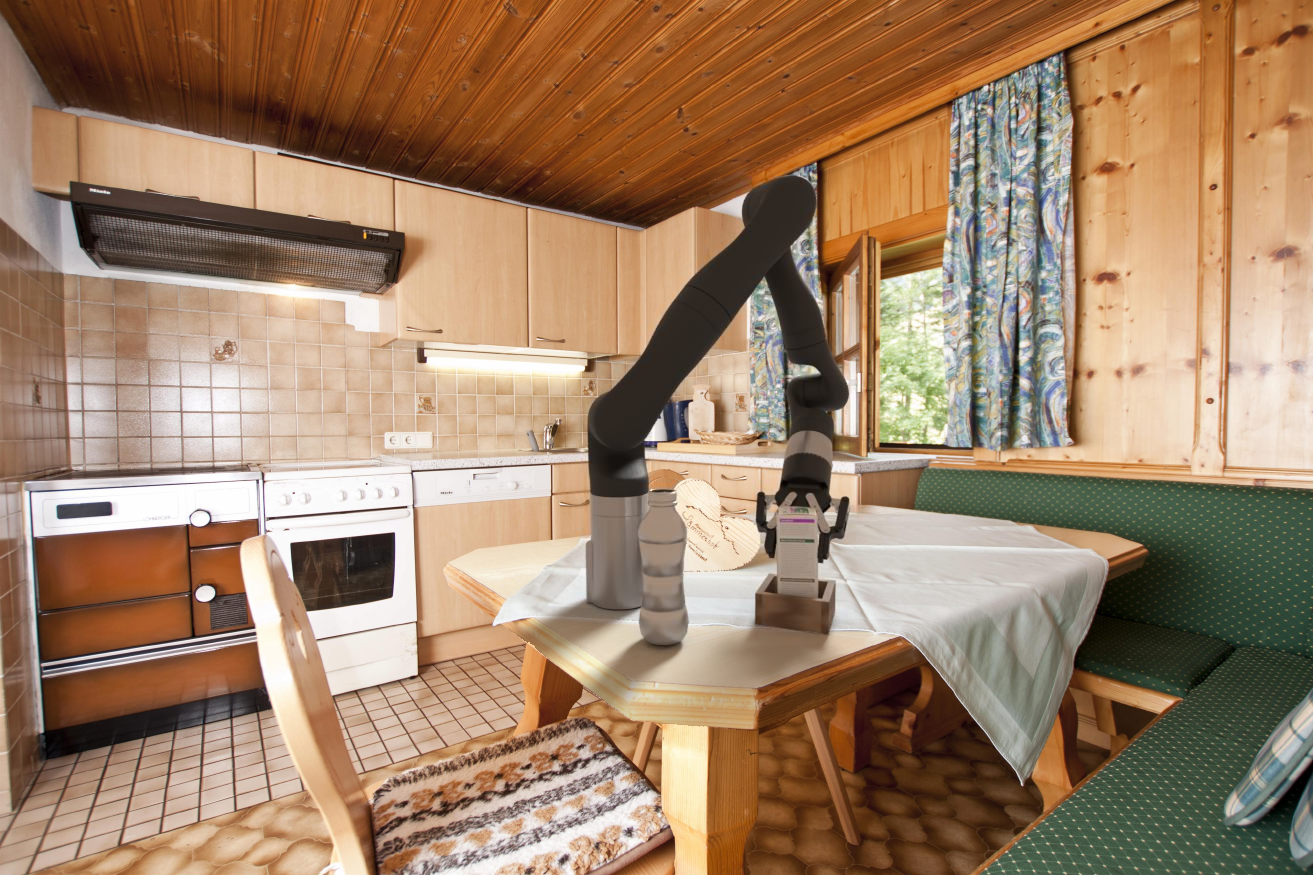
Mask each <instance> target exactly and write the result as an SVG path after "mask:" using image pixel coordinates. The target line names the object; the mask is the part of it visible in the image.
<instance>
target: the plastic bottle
mask: <svg viewBox="0 0 1313 875" xmlns="http://www.w3.org/2000/svg"><path fill="white" fill-rule="evenodd" d="M677 492H678V491H677V489H675V488H674V489H673V488H654V489H649V501H648V505H649V511H648V513H647V514H646V515H645V517H644V518H643V520H642V522H641V523H640V525H639V529H638V539H639V545H640V551H641V557H642V570H643V592H642V606H640V610H639V615H638V616H639V617H638V625H639V630H640V631H639V632H640V635H641V637H642V638H643V639H644V640H645V642H647V643H649V644H652V645H656V646H669V645H670V646H671V645H674V644H678V643H680V642H682V641H683V640H684V638H685V637H686V636H687V634H688V628H689V624H690V623H689V622H690V621H689V620H690V619H689V613H688V612H689V611H688V608H687V604H686V597H685V596H686V595H685V586H684V585H685V584H684V575H685V574H684V570H685V554H686V547H687V539H688V528H687V525H686V523H685V521H684V520H683V518H682V516H681V514H679V512H678V511H677V510H676V506H677V505H678V499H677V497H678V493H677Z"/></svg>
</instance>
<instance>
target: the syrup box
mask: <svg viewBox="0 0 1313 875" xmlns="http://www.w3.org/2000/svg"><path fill="white" fill-rule="evenodd" d="M776 510H777V545H776V574H777V594H785V595H794V596H802V597H810V598H818V579H819V563H818V558H817V553H818V543H819V536H818V530H817V514H816V510H815V509H813V508H810V507H801V506H789V507H778V506H777V509H776Z"/></svg>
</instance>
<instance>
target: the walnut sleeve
mask: <svg viewBox="0 0 1313 875" xmlns="http://www.w3.org/2000/svg"><path fill="white" fill-rule="evenodd" d="M836 585H837V582H836V580H835V579H825V578H818V598H810V597H802V596H794V595H785V594H777V573H768V574H767V575H766V577H765V579H764V580H763V581H762V583H761V584H760V586H759V587H758V589H757V590H756V591H755V593H754V598H755V599H754V624H756V626H762V625H763V627H771V628H777V629H785V630H790V631H791V630H792V631H798V632H807V633H811V634H812V633H813V634H819V635H820V634H821V635H827V636H829V635H830V631H831V628H832V627H831V626H832V624H833V620H834V616H835V611H836Z"/></svg>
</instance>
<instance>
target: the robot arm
mask: <svg viewBox="0 0 1313 875" xmlns="http://www.w3.org/2000/svg"><path fill="white" fill-rule="evenodd" d="M816 209H817V194H816V189H815V188H814V186H813V184H812V183H811V181H810V180H809V179H807V178H805V177H803V176H802V175H797V174H787V175H786V174H785V175H781V176H778V177H774V178H773V179H770V180H769V181H766V182H763V183H761V184H758V185H756V186H755V187H753V188H751V189H750V190H749V191H748V193H746V196H745V197H744V200H743V202H742V205H741V219H742V222H743V227H744V228H743V229H742V230H741V232H740V233H739V234H738V236H736V237H735V239H734V240H733V241H732V242H730V244H728V245H727V246H726V247H725V248H723V250H721V251H720V252H719V253H717V254H716V255H715V256H714V257H713V258H712V259H711V260H709V261H708V262H707V263H706V264H704V265H703V267H701V268H700V269H699V270H698V271H697V272H696V273H694V275H693V276H692V277H691V278H690V279H689V280H688V281H687V282H686V283H685V285H684V286H683V288H682V289H681V290H680V292H679V293H678V294H677V295H676V297H675V298H674V300H673V301H672V302H671V303H670V305H669V306H668V307H667V309H666V310H665V313H664V314H663V315H662V317H661V318H660V321H659V322H658V324H657V325H656V328H655V329H654V331H653V333H652V335H651V337H650V339H649V341H648V343H647V345H646V347H645V349H644V350H643V352H642V354H641V355H640V357H639V358H638V359H637V361H636V362H635V363H634V364H633V365H632V366H631V368H630V369H629V370H628V371H627V372H626V373H625V374H624V376H622V378H621V379H620V380H619V381H618V382H617V383H616V384H615V385H614V386H613V387H612V388H611V389H610V390H609V391H606V392H603V393H602V394H600V395H599V396H597V397H596V398H595V399H594V400H593V402H592V403H591V405H590V407H589V410H588V414H587V421H586V422H587V425H586V426H587V429H586V430H587V456H588V457H587V458H588V460H587V461H588V464H587V465H588V468H587V469H588V476H589V496H590V497H589V499H590V500H589V502H590V506H589V507H590V508H589V510H590V512H589V513H590V540H587V541H586V543H585V581H586V582H585V584H586V585H585V588H586V589H585V590H586V593H585V595H586V600H585V601H586V602H587V603H591V604H594V605H595V606H597V607H599V608H602V609H608V610H631V609H636V608H641V606H642V592H643V570H642V557H641V551H640V545H639V539H638V529H639V525H640V523H641V522H642V520H643V518H644V517H645V515H646V514H647V513H648V511H649V510H650V506H649V505H648V501H649V490H650V479H649V478H650V477H649V473H648V469H647V463H646V443H645V442H646V439H647V438H648V436H649V434H651V432H652V430H653V428H654V426H655V424H656V423H657V421H658V420H659V418H660V416H661V414H662V413H663V411H664V409H665V408H666V406H667V405H668V403H669V402H670V400H671V398H672V397H673V395H674V393H675V392H676V391H677V389H678V388H679V387H680V385H681V383H683V381H684V380H685V379H686V378H687V377H688V375H689V374H690V373H691V372H693V370H694V369H695V368H696V367H697V366H698V364H699V363H700V362H701V361H702V359H704V357H705V356H707V354H708V353H709V352H710V350H711V349H712V347H713V346H714V345H715V344H716V343H717V342H718V340H719V339H720V338H721V337H722V336H723V334H724V332H725V331H726V330H727V329H728V327H729V326H730V324H731V323H732V322H733V321H734V320H735V318H736V316H737V315H738V313H739V312H740V310H741V309H742V308H743V307H744V305H745V304H746V302H747V301H748V300H749V299H750V297H751V295H752V294H753V293H754V291H755V290H756V289H757V287H758V286H759V285H760V283H761V282H762V280H763V279H765V281H766V285H767V288H768V290H769V293H770V295H771V299H772V301H773V305H774V307H775V310H776V314H777V318H778V322H779V323H778V324H779V327H780V332H781V336H782V340H783V342H784V347H785V353H786V355H787V359H788V361H789V362H790V363H791V364H794V365H799V366H801V365H802V366H809V367H813V368H815V369H816V370H817V372H815V373H814V372H813V373H809V374H803V375H797V376H795V377H794V378H792V379H791V380H790V381H789V382H788V383H787V386H786V390H785V393H786V394H785V395H786V400H787V404H788V407H789V413H790V431H789V437H788V441H787V442H788V443H787V445H786V448H785V452H784V458H783V463H782V470H781V475H780V476H781V477H780V480H779V481H780V483H779V488H778V490H777V491H776V493H775V494H766V493H765V492H764V491H759V492H757V494H756V508H755V509H756V511H755V512H756V513H755V524H756V528H757V531H758V532H759V533H762V534H763V533H764V534H765V537H764V545H763V547H764V550H765V554H766V555H768V558H769V559H775V556H776V552H777V509H776V510H775V512H774V515H773V516H772V517H771V519H769V521H767V513H768V512H767V511H769V510H770V509H771V508H772V506H773V504H775V505H776V506H777V508H778V507H789V506H801V507H810V508H813V509H815V510H816V514H817V532H818V533H819V536H818V553H817V558H818V564H824V561H827V560H828V559H829V557H830V550H831V549H830V548H831V541H832V540H834V539H838V540H842V539H844V538H845V535H846V530H847V525H848V521H849V515H850V510H851V504H850V497H848V496H846V495H844V496H842V497H841V498H835V497H834V498H833V497H832V496H831V494H830V491H831V479H832V471H833V466H834V463H833V460H834V457H833V456H834V455H833V445H834V444H833V442H834V441H833V440H834V432H835V422H834V418H833V417H832V415H831V414H830V413H829V412H835V411H839V410H842V409H844V408H845V407H846V404H847V403H848V400H849V398H850V391H849V390H850V388H849V384H848V383H847V380H846V378H845V376H844V374H843V372H842V371H841V369H840V367H839V365H838V364H837V362H836V359H835V358H834V356H833V353H832V351H831V349H830V346H829V343H828V342H829V341H828V340H827V334H826V329H825V325H824V319H823V317H822V311H821V309H820V307H819V304H818V302H817V299H816V298H815V296H814V294H813V292H812V291H811V289H810V288H809V286H808V285H807V283H806V281H805V280H804V278H803V276H802V274H801V273H800V270H799V269H798V265H797V264H796V261H795V259H794V255H793V252H792V245H794V243H795V242H797V240H798V239H799V238H800V237H801V236H802V235H803V234H804V233H805V232H806V230H807V229H808V228H809V226H810V225H811V223H812V221H813V219H814V216H815V214H816ZM831 507H833V509H834V510H833V511H834V513H835V514H836V520H835V523H834V525H831V526H829V524H828V522H827V520H826V517H825V513H826V512H828V511H829V509H830V508H831Z"/></svg>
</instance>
